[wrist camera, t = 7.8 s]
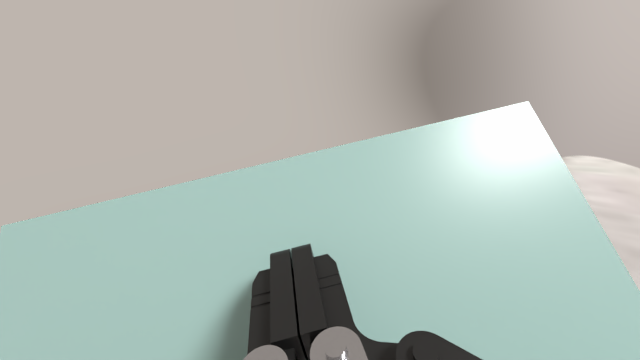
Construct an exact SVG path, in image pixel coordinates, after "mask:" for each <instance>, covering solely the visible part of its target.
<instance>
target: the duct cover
mask: <svg viewBox="0 0 640 360" xmlns="http://www.w3.org/2000/svg"><path fill="white" fill-rule="evenodd" d="M306 244H311V248H312V251H313V255H314V257H316V256H320V255H324V254H328V255H329V256H330V257H331V258H332V259H333V260H334V261H335V262H336V264H337V267H338V271H339V274H340V277H341V281H342V284H343V287H344V291H345V294H346V297H347V301H348V304H349V307H350V311H351V314H352V317H353V321H354V323H355V326H356V327H357V329H358V330H359V331H360V332H361V333H362V334H363V335H364V336H366V337H367V338H369V339H372V340H375V341H379V342H391V343H399V341H400V340H401V339H402V338H403V337H404V336H405V335H406V334H408V333H411V332H414V331H428V332H432V333H434V334H436V335H439V336H440V337H442V338H444V339H446V340H448V341H449V342H451V343H453V344H455V345H457V346H459V347H460V348H462V349H464V350H466V351H468V352H470V353H471V354H473V355H475V356H477V357H479V358H480V359H482V360H640V291H639V289H638V288H637V286H636V284H635V283H634V281H633V279H632V277H631V276H630V274H629V272H628V271H627V269H626V267H625V266H624V264H623V262H622V260H621V259H620V257H619V255H618V254H617V252H616V250H615V248H614V247H613V245H612V243H611V242H610V240H609V238H608V237H607V235H606V233H605V231H604V230H603V228H602V226H601V225H600V223H599V221H598V219H597V218H596V216H595V214H594V213H593V211H592V209H591V208H590V206H589V204H588V202H587V201H586V199H585V197H584V196H583V194H582V192H581V190H580V189H579V187H578V185H577V184H576V182H575V180H574V179H573V177H572V175H571V173H570V172H569V170H568V168H567V167H566V165H565V163H564V161H563V160H562V158H561V156H560V155H559V153H558V152H557V150H556V148H555V146H554V144H553V143H552V141H551V139H550V138H549V136H548V134H547V132H546V131H545V129H544V127H543V126H542V124H541V122H540V121H539V119H538V117H537V115H536V114H535V112H534V110H533V109H532V107H531V105H530V103H529V102H528V101H527V102H523V103H518V104H514V105H510V106H506V107H501V108H497V109H493V110H489V111H484V112H480V113H476V114H472V115H468V116H463V117H459V118H455V119H451V120H446V121H442V122H438V123H434V124H430V125H425V126H421V127H417V128H413V129H409V130H404V131H400V132H396V133H392V134H387V135H383V136H379V137H375V138H371V139H366V140H362V141H358V142H354V143H349V144H345V145H342V146H337V147H333V148H329V149H324V150H320V151H316V152H312V153H307V154H303V155H299V156H295V157H291V158H286V159H282V160H278V161H274V162H270V163H266V164H261V165H257V166H252V167H248V168H244V169H240V170H236V171H231V172H227V173H223V174H219V175H214V176H210V177H206V178H202V179H198V180H193V181H190V182H185V183H181V184H177V185H172V186H168V187H164V188H160V189H155V190H151V191H147V192H143V193H139V194H134V195H130V196H126V197H122V198H117V199H114V200H109V201H105V202H101V203H97V204H92V205H88V206H84V207H80V208H76V209H72V210H67V211H63V212H59V213H55V214H50V215H46V216H42V217H38V218H33V219H29V220H25V221H20V222H17V223H12V224H8V225H4V226H1V233H0V360H243V359H244V358H245V357H246V356H247V351H248V338H249V324H250V309H251V299H252V296H251V295H252V283H253V281H254V279H255V278H256V276H257V274H258V272H259V271H262V270H266V269H270V254H271V253H275V252H279V251H283V250H287V249H290V250H291V248H294V247H298V246H302V245H306ZM291 253H292V252H291Z"/></svg>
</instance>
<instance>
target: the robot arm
mask: <svg viewBox="0 0 640 360" xmlns="http://www.w3.org/2000/svg"><path fill="white" fill-rule="evenodd" d="M291 252H292V253H291ZM251 296H252V299H251V309H250V324H249V338H248V351H247V356H246V357H245V358H244V359H243V360H482V359H480V358H479V357H477V356H475V355H473V354H471V353H470V352H468V351H466V350H464V349H462V348H460V347H459V346H457V345H455V344H453V343H451V342H449V341H448V340H446V339H444V338H442V337H440V336H439V335H436V334H434V333H432V332H428V331H414V332H411V333H408V334H406V335H405V336H404V337H403V338H402V339H401V340H400V341H399V343H391V342H379V341H375V340H372V339H369V338H367V337H366V336H364V335H363V334H362V333H361V332H360V331H359V330H358V329H357V327H356V326H355V323H354V321H353V317H352V314H351V311H350V307H349V304H348V301H347V297H346V294H345V291H344V287H343V284H342V281H341V277H340V274H339V271H338V267H337V264H336V262H335V261H334V260H333V259H332V258H331V257H330V256H329V255H328V254H324V255H320V256H316V257H314V255H313V251H312V248H311V244H306V245H302V246H298V247H294V248H291V250H290V249H287V250H283V251H279V252H275V253H271V254H270V269H266V270H262V271H259V272H258V274H257V276H256V278H255V279H254V281H253V283H252V295H251Z"/></svg>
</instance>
